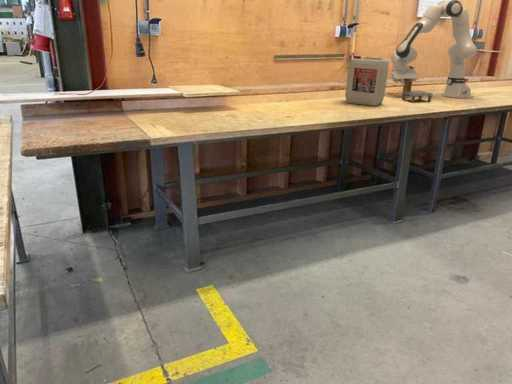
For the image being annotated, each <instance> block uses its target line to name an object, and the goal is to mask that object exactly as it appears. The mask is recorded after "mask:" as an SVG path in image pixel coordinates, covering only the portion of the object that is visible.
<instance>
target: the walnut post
mask: <svg viewBox="0 0 512 384" xmlns="http://www.w3.org/2000/svg"><path fill="white" fill-rule="evenodd" d="M412 80H413V79H410V78H405V79H404V83H406V86H403V85H402V86H403V87H402V93H401V95H402V96H403V91H412V87H413V85H412V84H413V81H412ZM410 96H411V95H407V94H406V97H410Z"/></svg>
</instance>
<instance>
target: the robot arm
mask: <svg viewBox="0 0 512 384" xmlns="http://www.w3.org/2000/svg"><path fill="white" fill-rule="evenodd" d="M468 12H469V11H468V9H467V7H465V6H463V5H462V3H461V2H460V1H459V0H442V1H440V2H439V3H433V4H431V5H430V6H429V7H428V8H427V9H426V11H425V12H424V14H423V15H422V16H421V18H420V20H419V21H418V22H417V23H416V24H414V25H413V27H412V28H411V29H410V31H409V32H408V33H407V35H406V36H405V38H404V39H403V40H402V41H401V42H400V43H399V44H398V45H397V46H396V49H394V51H392V53H391V55H390V60H391V63H392V67H393V68H394V69H392V70H391V71H390V75H391V79H392V81H393V82H394V83H396V82H397V83H400V84H401V85H402V86H406V83H404V79H405V78H410V79H413V80H412V82H416V81H417V80H418V79H419V75H418V73H417V71H416V70H415V67H414V66H411V65H409V64H410V63H412V62H413V61H415V60H416V58H417V57H418V52H417V50H416V49H415V48H414V47H412V44H413V42H414V41H415V40H416V39H417V37H418V36H419V35H420V34H427V33H430V32H432V31H433V29H434V28H435V27H436V25H437V24H438V21H439V20H440V18H450V19H451V28H452V30H451V31H452V37H453V39H454V40H455V42H454V43H453V42H452V43H451V44H450V45H449V46H448V48H447V54H448V56H449V62H450V65H449V66H450V67H449V72H448V77H447V80H446V85H445V89H444V92H443V94H442V96H443V97H448V98H455V99H456V98H458V99H467V98H469V99H470V98H473V97H474V95H472V93H471V88H470V87H469V86H468V84H467V83H466V82H469V78H466V77H465V76H466V72H467V65H466V63H465V60H469V59H473V58H474V57H475V56H476V55H477V51H478V49H477V46H476V45H475V44H474V42H473V38H472V36H471V31H470V17H469V13H468ZM412 86H413V83H412Z"/></svg>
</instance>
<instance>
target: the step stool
mask: <svg viewBox="0 0 512 384" xmlns="http://www.w3.org/2000/svg"><path fill="white" fill-rule="evenodd" d="M402 92H403V95H402V96H401V100H402V101H406V97H407V96H406V94H407V95H410V96H411V99H410V103H412V104H413V103H414V104H415V98H416V97H418V100H422V98H423V97H427V103H431V101H432V96H433V95H434V94H433V93H432V92H429V91H424V90H411V91H403V90H402Z"/></svg>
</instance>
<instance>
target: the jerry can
mask: <svg viewBox="0 0 512 384" xmlns="http://www.w3.org/2000/svg"><path fill="white" fill-rule="evenodd" d="M389 63H390V60H389V59H387V58H385V57H380V56H379V57H375V56H374V57H373V56H365V57H361V55H353V57H352V58H351V59H350V60H349V63H348V66H347V78H346V87H345V96H344V97H345V102H346V103H348V104H354V105H364V106H372V107H376V106H378V105H380V104H382V103H383V102H384V98H385V97H386V95H385V94H386V86H387V80H388V75H389V67H390V66H389Z"/></svg>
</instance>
